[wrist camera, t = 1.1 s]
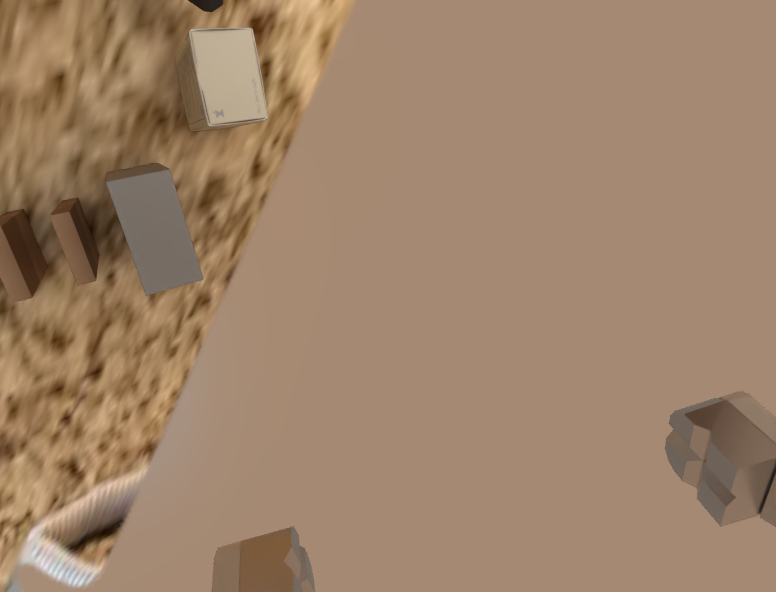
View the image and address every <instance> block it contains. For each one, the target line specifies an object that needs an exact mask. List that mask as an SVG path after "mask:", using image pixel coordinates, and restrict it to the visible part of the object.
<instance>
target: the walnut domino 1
mask: <svg viewBox="0 0 776 592" xmlns="http://www.w3.org/2000/svg"><path fill="white" fill-rule="evenodd" d="M47 268H48V266H47V264H46V262H45V259H44V257H43V254H42V252H41V250H40V247H39V245H38V242H37V240H36V238H35V235H34V233H33V230H32V228H31V226H30V223H29V221H28V218H27V216H26V214H25V211H24V209H21V210H17V211H12V212H7V213H5V214H4V215H2V216H1V217H0V278H1V280H2V282H3V285H4V287H5V289H6V291H7V293H8V296H9V298H10V300H11V302H12V303H14V302H18V301H22V300H25V299H29V298H32V297H33V295H34V293H35V291H36V289H37V287H38V285H39V283H40V281H41V280H42V278H43V276H44V274H45V272H46V270H47Z"/></svg>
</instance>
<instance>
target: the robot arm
mask: <svg viewBox="0 0 776 592" xmlns="http://www.w3.org/2000/svg"><path fill="white" fill-rule="evenodd" d="M669 424H670V426H671V427H672V428H673V431H672V432H671V433H670V434H669V435H668V436H667V438H666V445H665V450H666V454H667V457H668V461H669V463H670V464H671V466H672V468H673V470H674V471H675V472H676V474H677V475H678V476H679V477H680V479H681V480H682V481H684V482H686V483H688V484H690V485H692V486H694V487H696V488H697V499H698V500H699V501H700V503H701V504H702V505H703V506H704V508H705V509H706V510H707V511H708V512H709V513H710V515H711V516H712V517H713V518H714V519H715V521H716V522H717V523H718V524H719V525H720V526H724V525H728V524H731V523H734V522H738V521H741V520H745V519H748V518H752V517H755V516H759V515H760V518H761V519H763V520H765V521H766V522H768V523H770V524H772V525H773V526H775V527H776V416H774V415H773V414H772V413H771V412H770V411H769V410H767V409H766V408H765V407H764V406H763V405H762V404H760V403H759V402H758V401H757V400H756V399H755V398H753V397H752V396H751V395H750V394H748V393H745V392H743V391H740V392H735V393H732V394H729V395H726V396H723V397H720V398H714V399H711V400H708V401H704V402H701V403H699V404H695V405H692V406H689V407H686V408H682V409H679V410H676V411H674V412H673V413H672V414H671V415H670V420H669ZM212 592H315V586H314V578H313V573H312V568H311V564H310V560H309V557H308V554H307V552H306V550H305V548H303V547H301V546H300V545H299V535H298V533H297V531H296V529H295V527H294V526H292V527H289V528H286V529H282V530H278V531H275V532H272V533H268V534H264V535H261V536H257V537H254V538H250V539H247V540H242V541H239V542H236V543H232V544H229V545H226V546H223V547H219V548H217V551H216V554H215V557H214V567H213V581H212Z"/></svg>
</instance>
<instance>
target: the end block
mask: <svg viewBox="0 0 776 592" xmlns="http://www.w3.org/2000/svg"><path fill="white" fill-rule="evenodd" d="M106 184H107V187H108V189H109V192H110V195H111V198H112V201H113V204H114V206H115V209H116V212H117V215H118V218H119V221H120V223H121V226H122V229H123V232H124V235H125V238H126V240H127V243H128V246H129V249H130V252H131V255H132V257H133V260H134V263H135V266H136V269H137V271H138V274H139V277H140V280H141V283H142V286H143V288H144V291H145V294H146V296H147V295H150V294H154V293H157V292H161V291H164V290H168V289H171V288H175V287H179V286H182V285H186V284H189V283H193V282H196V281H200V280H203V276H202V273H201V270H200V266H199V263H198V260H197V257H196V253H195V250H194V247H193V244H192V240H191V237H190V234H189V231H188V227H187V224H186V221H185V218H184V214H183V211H182V208H181V205H180V201H179V198H178V195H177V192H176V188H175V185H174V182H173V179H172V176H171V172H170V169H168V168H166V167H164V166H162V165H160V164H158V163H154V164H149V165H143V166H138V167H133V168H128V169H123V170H118V171H113V172H108V174H107V179H106Z"/></svg>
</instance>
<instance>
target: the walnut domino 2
mask: <svg viewBox="0 0 776 592" xmlns="http://www.w3.org/2000/svg"><path fill="white" fill-rule="evenodd" d="M50 219H51V221H52V224H53V226H54V229H55V231H56V234H57V236H58V239H59V241H60V244H61V246H62V249H63V251H64V254H65V256H66V259H67V261H68V264H69V266H70V269H71V271H72V274H73V276H74V279H75V281H76V284H77V286H78V285H82V284H86V283H89V282H93V281H96V277H97V269H98V261H99V252H98V250H97V247H96V244H95V242H94V239H93V236H92V234H91V231H90V228H89V226H88V223H87V220H86V218H85V215H84V212H83V210H82V207H81V204H80V202H79V199H78V198H74V199H69V200H64V201H62V202H61V203H60V204H59V205H58V206H57V207H56V209H55V210H54V211H53V212H52V213H51V215H50Z"/></svg>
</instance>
